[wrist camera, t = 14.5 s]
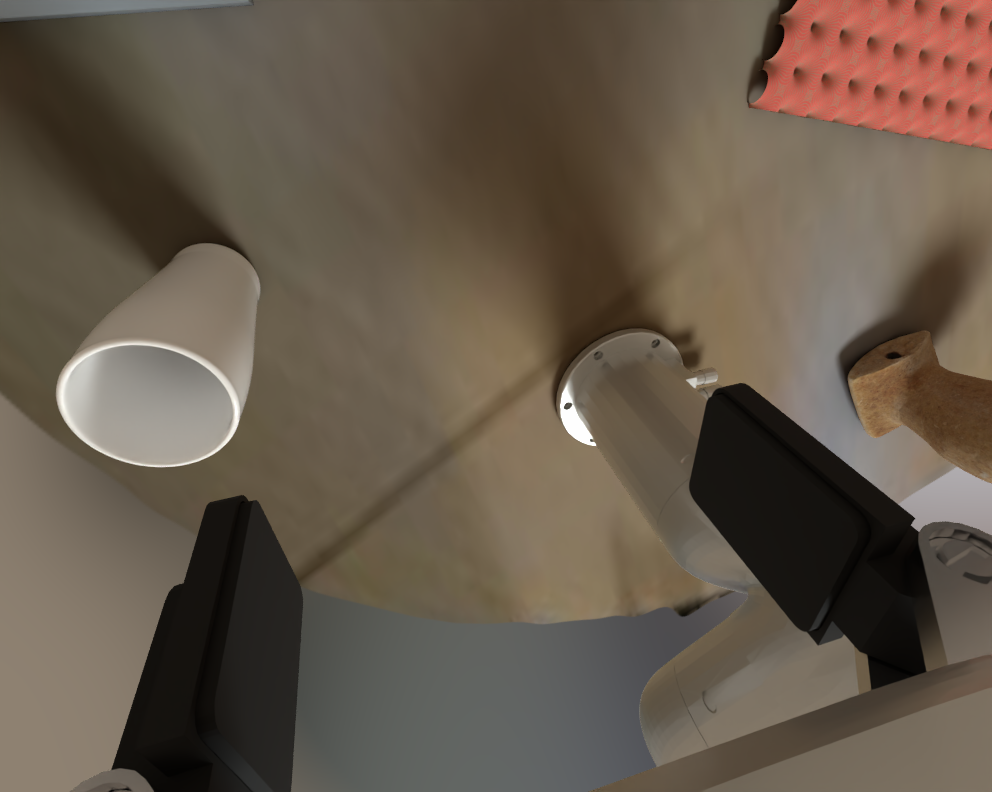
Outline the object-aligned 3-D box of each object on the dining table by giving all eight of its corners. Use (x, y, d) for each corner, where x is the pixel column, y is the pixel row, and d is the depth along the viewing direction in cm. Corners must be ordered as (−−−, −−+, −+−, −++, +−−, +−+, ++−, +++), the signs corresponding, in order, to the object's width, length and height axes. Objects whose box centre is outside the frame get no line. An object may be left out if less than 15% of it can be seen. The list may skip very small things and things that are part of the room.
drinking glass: (167, 210, 30) (60, 313, 18) (285, 253, 33) (258, 365, 21) (148, 308, 33) (44, 453, 21) (258, 339, 36) (222, 481, 24)
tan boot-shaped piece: (942, 380, 61) (1090, 459, 49) (856, 439, 63) (978, 529, 51) (932, 296, 52) (1109, 368, 40) (832, 368, 54) (972, 457, 42)
